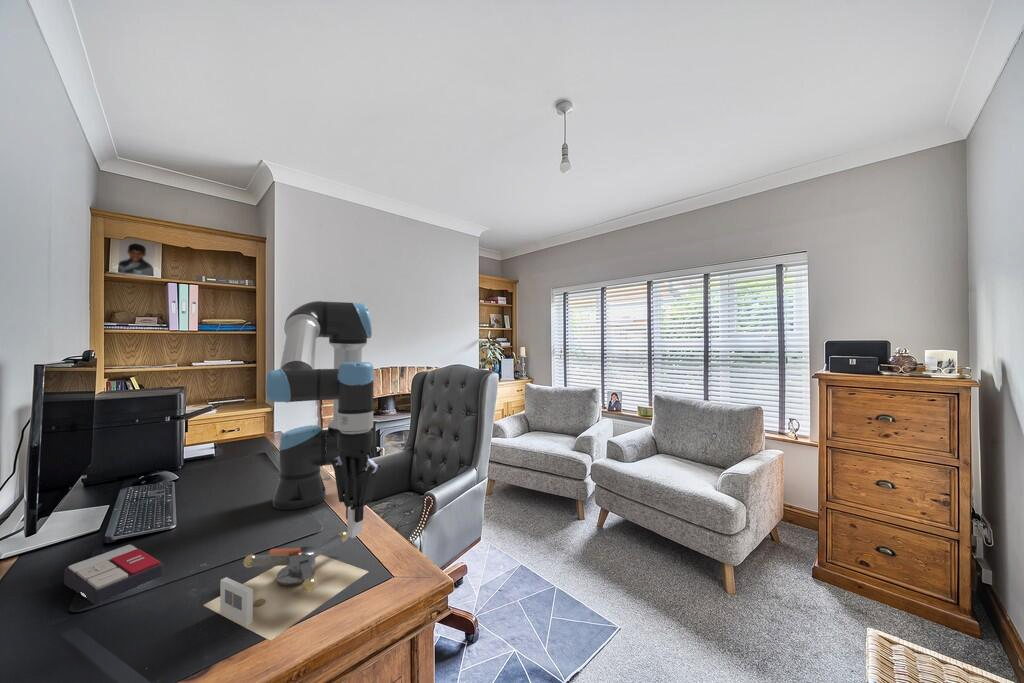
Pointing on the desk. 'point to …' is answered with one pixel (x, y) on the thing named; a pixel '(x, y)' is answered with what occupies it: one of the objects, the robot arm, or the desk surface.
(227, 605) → the panel
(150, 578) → the grey and red box
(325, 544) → the capstan
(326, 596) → the stand base
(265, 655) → the desk surface
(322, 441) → the robot arm
